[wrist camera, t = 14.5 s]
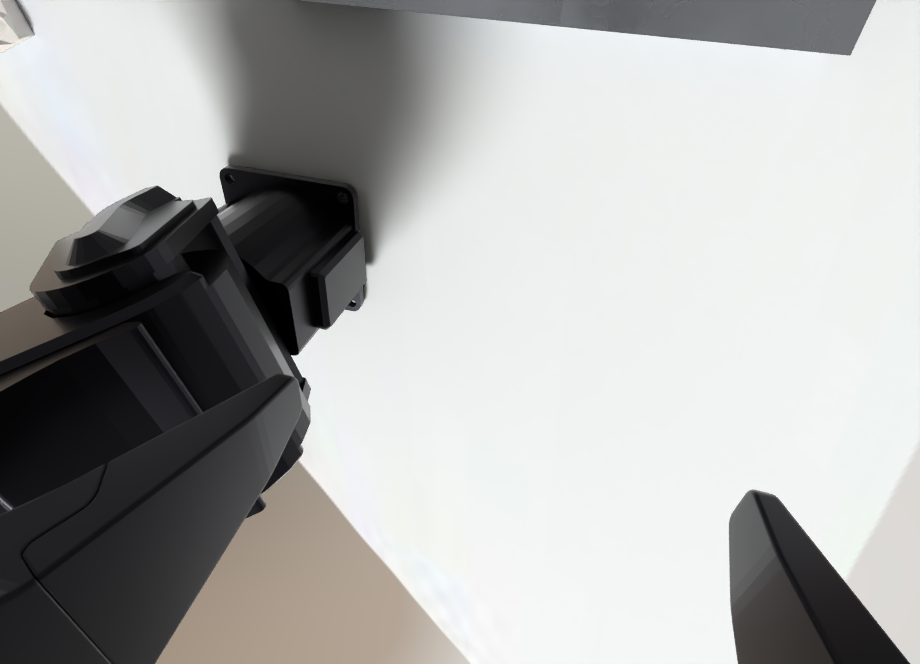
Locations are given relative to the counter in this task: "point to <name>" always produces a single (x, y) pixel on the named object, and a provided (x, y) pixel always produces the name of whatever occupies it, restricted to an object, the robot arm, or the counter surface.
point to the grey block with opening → (674, 18)
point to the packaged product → (12, 25)
